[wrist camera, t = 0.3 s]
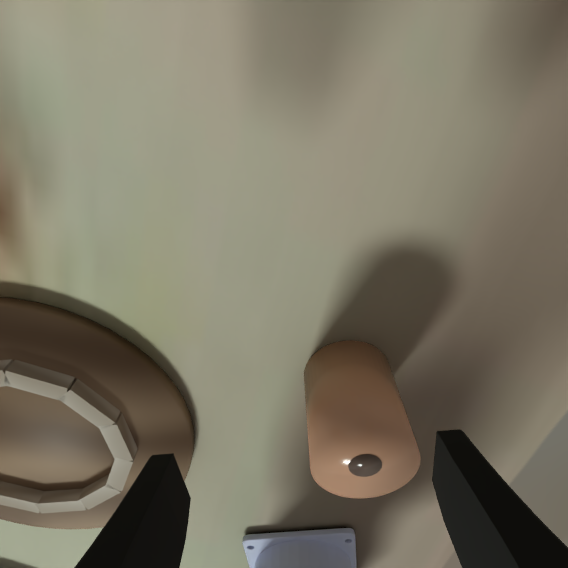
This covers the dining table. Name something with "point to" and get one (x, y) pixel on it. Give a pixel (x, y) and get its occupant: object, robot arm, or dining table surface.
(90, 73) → the dining table surface
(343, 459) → the terracotta bead
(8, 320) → the ring board
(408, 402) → the dining table surface
